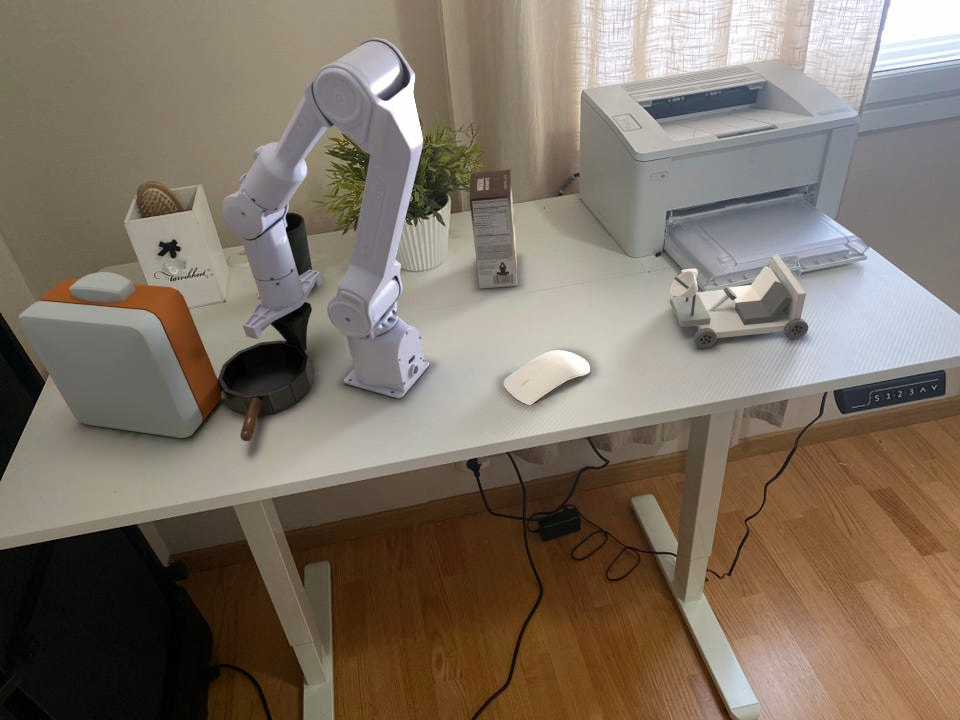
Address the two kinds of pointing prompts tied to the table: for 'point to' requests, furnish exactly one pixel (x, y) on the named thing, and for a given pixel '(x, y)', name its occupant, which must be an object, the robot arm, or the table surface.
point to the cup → (298, 242)
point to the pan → (265, 380)
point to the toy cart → (741, 305)
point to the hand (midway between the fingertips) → (299, 349)
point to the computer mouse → (544, 375)
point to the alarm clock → (124, 354)
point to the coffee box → (493, 228)
